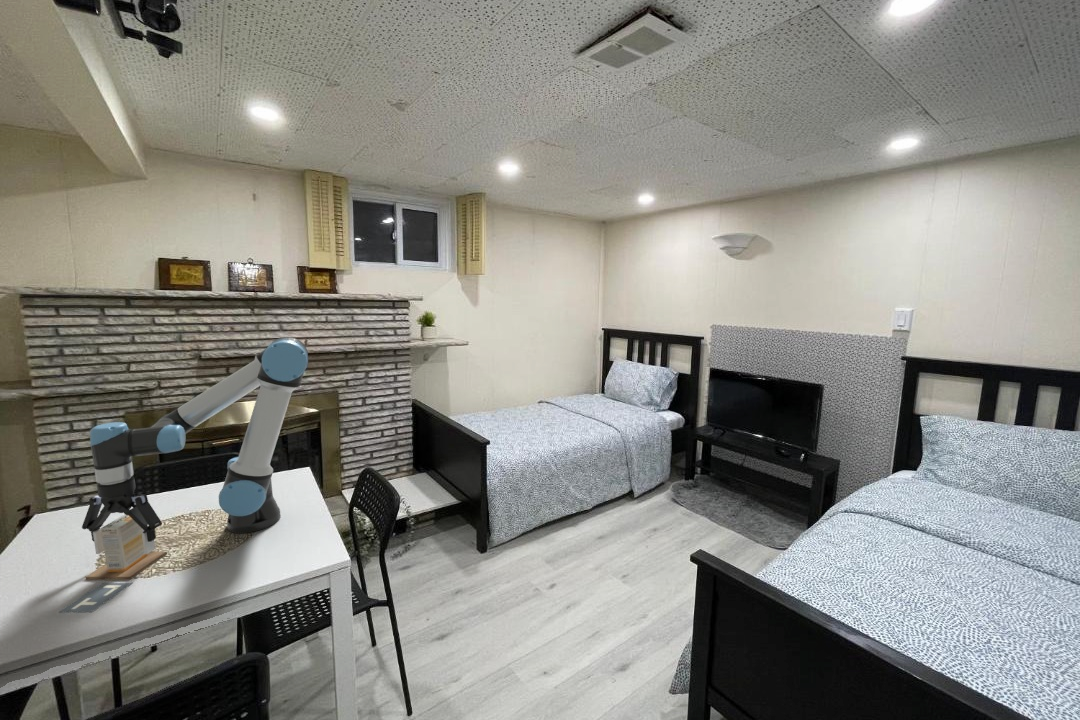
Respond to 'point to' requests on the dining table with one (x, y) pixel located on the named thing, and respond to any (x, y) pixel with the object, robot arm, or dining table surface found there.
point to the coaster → (129, 573)
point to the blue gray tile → (96, 597)
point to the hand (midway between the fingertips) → (126, 551)
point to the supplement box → (122, 544)
